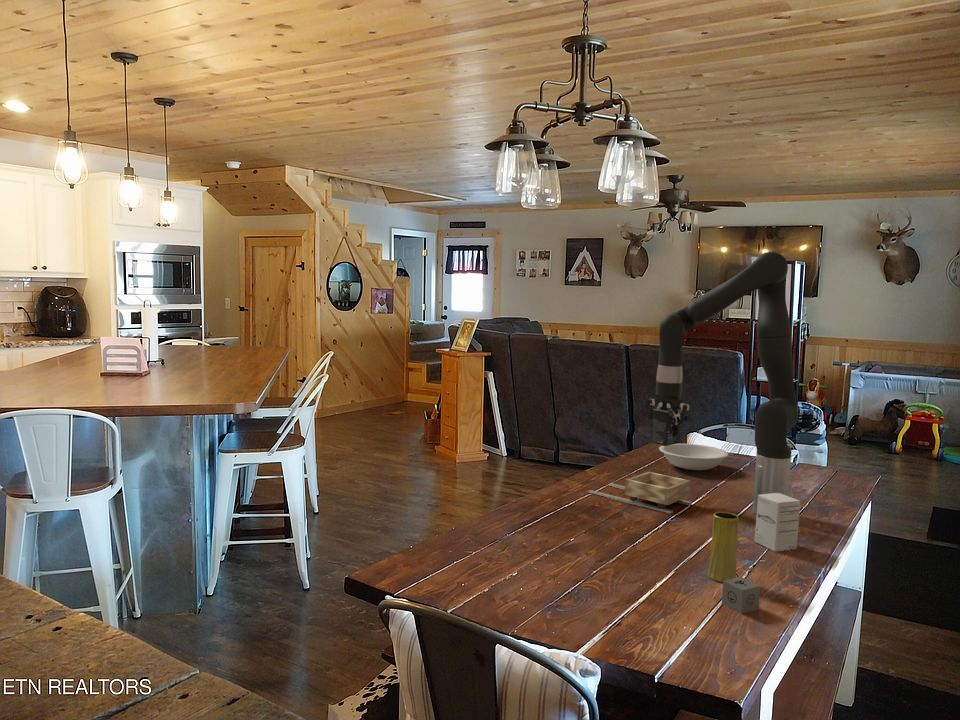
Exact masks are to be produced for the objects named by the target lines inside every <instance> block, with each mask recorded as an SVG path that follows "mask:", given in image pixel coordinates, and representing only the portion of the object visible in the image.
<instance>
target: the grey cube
mask: <svg viewBox="0 0 960 720" xmlns="http://www.w3.org/2000/svg"><path fill="white" fill-rule="evenodd" d="M760 597H761V585H759V584H757V583H755V582H754V581H750V580H748V579H746V578H744V577H742V576H738V577H736V578H733V579H729V580H725V581H723V582H722V596H721V605H723V606H725V607H726V608H729V609H730V610H732V611H734V612H736V613H738V614H740V615H743V614H746V613H750V612H753V611H758V610H760V599H761V598H760Z"/></svg>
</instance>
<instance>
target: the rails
mask: <svg viewBox="0 0 960 720" xmlns="http://www.w3.org/2000/svg"><path fill="white" fill-rule="evenodd" d="M608 485H609V486H608V487H610V486H612V487H611V488H614V487H615V489H618V488H619V489H620V490H622V491H623V490H624V491H625V485H620V484H616V483H613V482H610V483H608ZM588 492H589V493H593V494H597V495H600V496H599V497H601V496H604V497H603V498H605V497H607V498H606V499H609V498H611V499H610V500H613V499H614V501H617V500H618V501H617V502H621V503H626V504H631V505H633V506H637V507H640V508H645V509H649V510H653V511H657V512H662V513H664V514H665V513H666V514H670V515H671V514H674V510H673V509H669V508H666V507H663V508H659V507H658V505H657V506H656V505H653V504H649V503H645V502H641V501H637V500H636V501H631V499H630V498H629V499H628V498H624V497H620V496H618V495H617V496H616V495H612V494H608V493H605V492H601V491H597V490H594V489H593V490H592V489H590V490H587V493H588ZM589 493H588V494H589ZM593 494H592V495H593ZM597 495H596V496H597ZM677 502H678V503H677ZM675 503H677V504H681V505H686V506H692V505H693V502H692V501H689V500H685V499H681V500H678V501H676V502H675Z"/></svg>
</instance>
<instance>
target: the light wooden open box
mask: <svg viewBox="0 0 960 720" xmlns="http://www.w3.org/2000/svg"><path fill="white" fill-rule="evenodd" d="M624 481H625V482H624V486H625V490H624V495H625V496H627V497H629V500H631V501H637V500H638V499H641V500H644V501H645V500H646V501H650V502H653V503H656V504H657V506H658V507H659V508H665V506H669V505H672V504H673V503H677V502H676V501H678V500H684V499H685V498H688V497H690V495H691V482H692V481H691V480H689V479H685V478H679V477H675V476H670V475H666V474H661V473H656V472H652V471H646V472H644V473H641V474H638V475H635V476H631V477H629V478H626V479H625V480H624Z"/></svg>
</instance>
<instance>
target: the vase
mask: <svg viewBox="0 0 960 720" xmlns="http://www.w3.org/2000/svg"><path fill="white" fill-rule="evenodd" d="M711 532H712V533H711V534H712V535H711V548H710V555H709V562H708V570H707V577H708V578H709V579H711V580H713V581H715V582H719V583H723V581H725V580H729V579H733V578H737V564H738V560H737V558H738V533H739V515H737V514H735V513H731V512H728V511H716V512H714V513H713V516H712V531H711Z"/></svg>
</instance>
